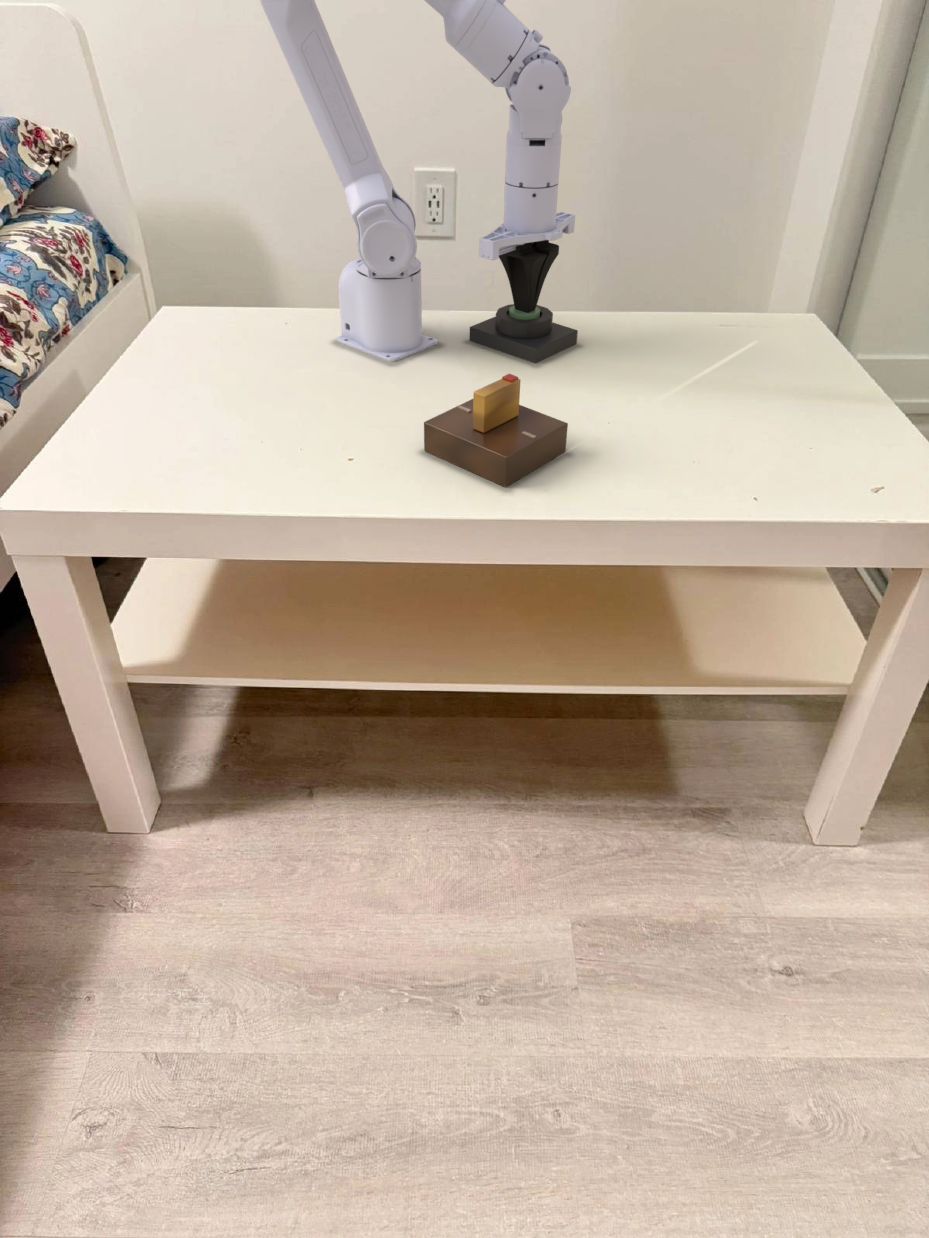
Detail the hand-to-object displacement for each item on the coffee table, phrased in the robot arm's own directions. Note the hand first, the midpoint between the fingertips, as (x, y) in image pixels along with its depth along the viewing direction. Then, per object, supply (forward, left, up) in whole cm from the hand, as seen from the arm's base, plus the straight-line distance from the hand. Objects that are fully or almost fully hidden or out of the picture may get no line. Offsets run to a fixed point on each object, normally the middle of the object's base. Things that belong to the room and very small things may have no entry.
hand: (524, 309), depth 102 cm
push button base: (0, 0, -4) cm, 4 cm away
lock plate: (+15, -23, -4) cm, 28 cm away
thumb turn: (+15, -23, -1) cm, 27 cm away
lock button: (0, 0, -2) cm, 2 cm away
